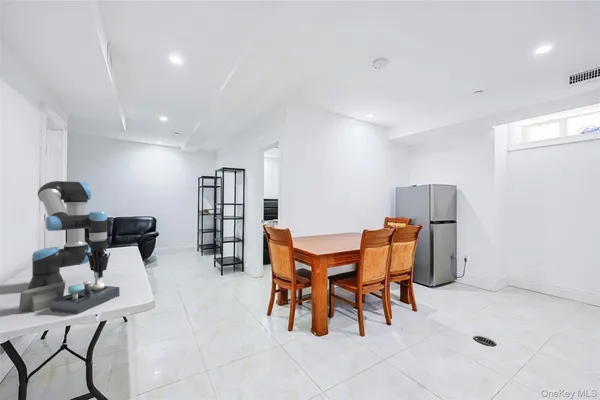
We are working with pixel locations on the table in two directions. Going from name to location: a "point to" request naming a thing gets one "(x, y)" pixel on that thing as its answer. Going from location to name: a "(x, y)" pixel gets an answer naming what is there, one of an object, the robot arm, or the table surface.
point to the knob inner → (98, 287)
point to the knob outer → (75, 291)
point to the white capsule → (87, 287)
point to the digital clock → (40, 297)
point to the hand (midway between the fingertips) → (98, 283)
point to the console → (84, 300)
